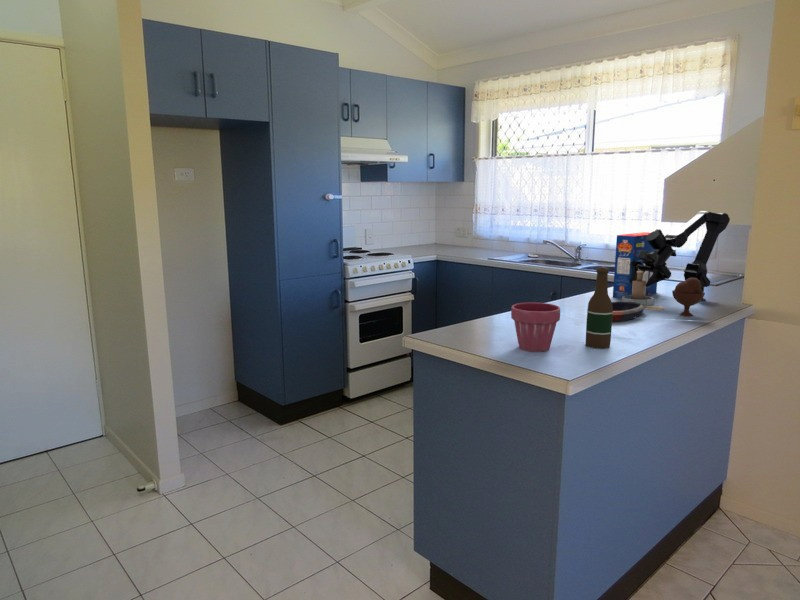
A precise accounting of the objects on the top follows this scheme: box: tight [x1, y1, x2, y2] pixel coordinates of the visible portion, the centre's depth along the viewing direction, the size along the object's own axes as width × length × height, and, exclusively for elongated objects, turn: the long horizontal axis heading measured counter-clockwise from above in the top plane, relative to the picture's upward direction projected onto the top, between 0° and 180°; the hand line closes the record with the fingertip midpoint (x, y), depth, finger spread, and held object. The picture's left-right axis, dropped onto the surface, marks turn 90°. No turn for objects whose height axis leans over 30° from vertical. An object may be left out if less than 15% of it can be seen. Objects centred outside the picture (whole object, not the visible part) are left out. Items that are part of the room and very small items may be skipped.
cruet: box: [631, 271, 646, 300], centre depth 243 cm, size 5×5×13 cm
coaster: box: [645, 305, 666, 311], centre depth 233 cm, size 7×7×1 cm
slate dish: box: [621, 295, 655, 306], centre depth 244 cm, size 12×12×3 cm
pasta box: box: [612, 232, 658, 299], centre depth 262 cm, size 28×8×28 cm, turn 134°
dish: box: [611, 300, 646, 323], centre depth 219 cm, size 16×31×5 cm, turn 129°
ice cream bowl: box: [671, 278, 706, 318], centre depth 218 cm, size 11×11×15 cm
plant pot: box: [510, 301, 561, 353], centre depth 174 cm, size 14×14×13 cm
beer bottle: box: [585, 267, 613, 350], centre depth 175 cm, size 8×8×24 cm
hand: (637, 284), depth 242 cm, fingers open, 9 cm apart
